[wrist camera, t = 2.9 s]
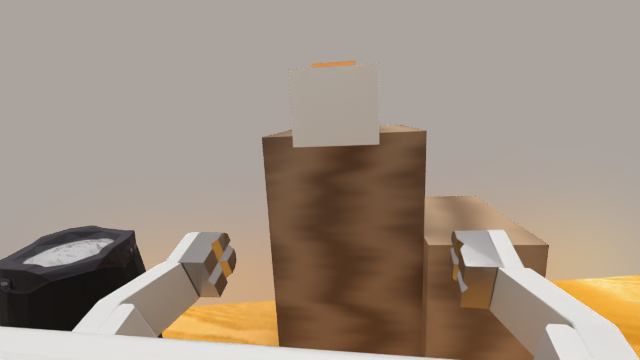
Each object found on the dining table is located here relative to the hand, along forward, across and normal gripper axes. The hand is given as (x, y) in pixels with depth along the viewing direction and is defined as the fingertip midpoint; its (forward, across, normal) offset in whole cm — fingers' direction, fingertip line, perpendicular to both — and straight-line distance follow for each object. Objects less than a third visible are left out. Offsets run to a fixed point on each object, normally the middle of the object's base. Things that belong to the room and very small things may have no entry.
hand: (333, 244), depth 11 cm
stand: (+9, -1, +28) cm, 29 cm away
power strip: (+16, +1, +2) cm, 16 cm away
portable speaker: (-2, +21, +23) cm, 31 cm away
